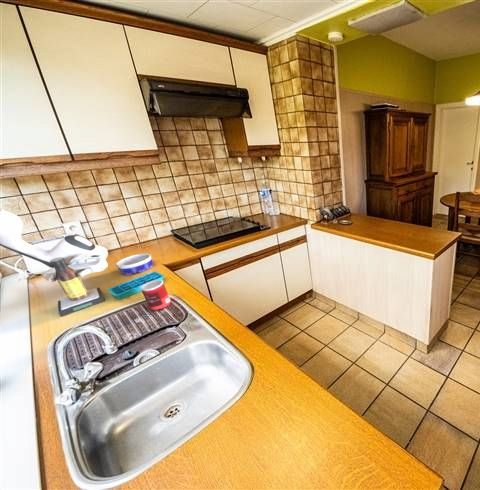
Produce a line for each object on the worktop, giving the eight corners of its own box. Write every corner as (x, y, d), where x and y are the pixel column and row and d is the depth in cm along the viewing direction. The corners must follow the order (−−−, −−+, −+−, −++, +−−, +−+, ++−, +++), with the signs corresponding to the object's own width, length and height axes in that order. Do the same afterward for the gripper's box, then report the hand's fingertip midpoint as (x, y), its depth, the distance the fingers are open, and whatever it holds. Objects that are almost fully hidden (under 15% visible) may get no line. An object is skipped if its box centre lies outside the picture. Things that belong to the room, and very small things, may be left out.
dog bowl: (159, 266, 153) (155, 256, 151) (126, 278, 141) (121, 268, 139) (147, 260, 161) (143, 251, 158) (116, 271, 149) (111, 262, 147)
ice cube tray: (109, 294, 127) (106, 289, 126) (157, 275, 142) (155, 270, 141) (117, 301, 121) (115, 296, 120) (167, 281, 136) (164, 276, 135)
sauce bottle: (74, 295, 122) (51, 257, 114) (91, 292, 124) (70, 254, 116) (66, 303, 116) (42, 263, 108) (85, 299, 119) (62, 260, 111)
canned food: (168, 298, 121) (159, 277, 117) (174, 304, 117) (165, 283, 112) (148, 306, 116) (138, 285, 112) (153, 313, 111) (143, 291, 107)
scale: (61, 316, 112) (57, 311, 111) (60, 305, 121) (57, 299, 119) (105, 301, 122) (102, 295, 121) (101, 291, 130) (98, 286, 129)
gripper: (51, 263, 122) (29, 276, 110) (106, 254, 129) (91, 266, 117) (58, 274, 125) (38, 289, 113) (112, 265, 131) (98, 278, 119)
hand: (65, 277), depth 115 cm, fingers open, 8 cm apart
